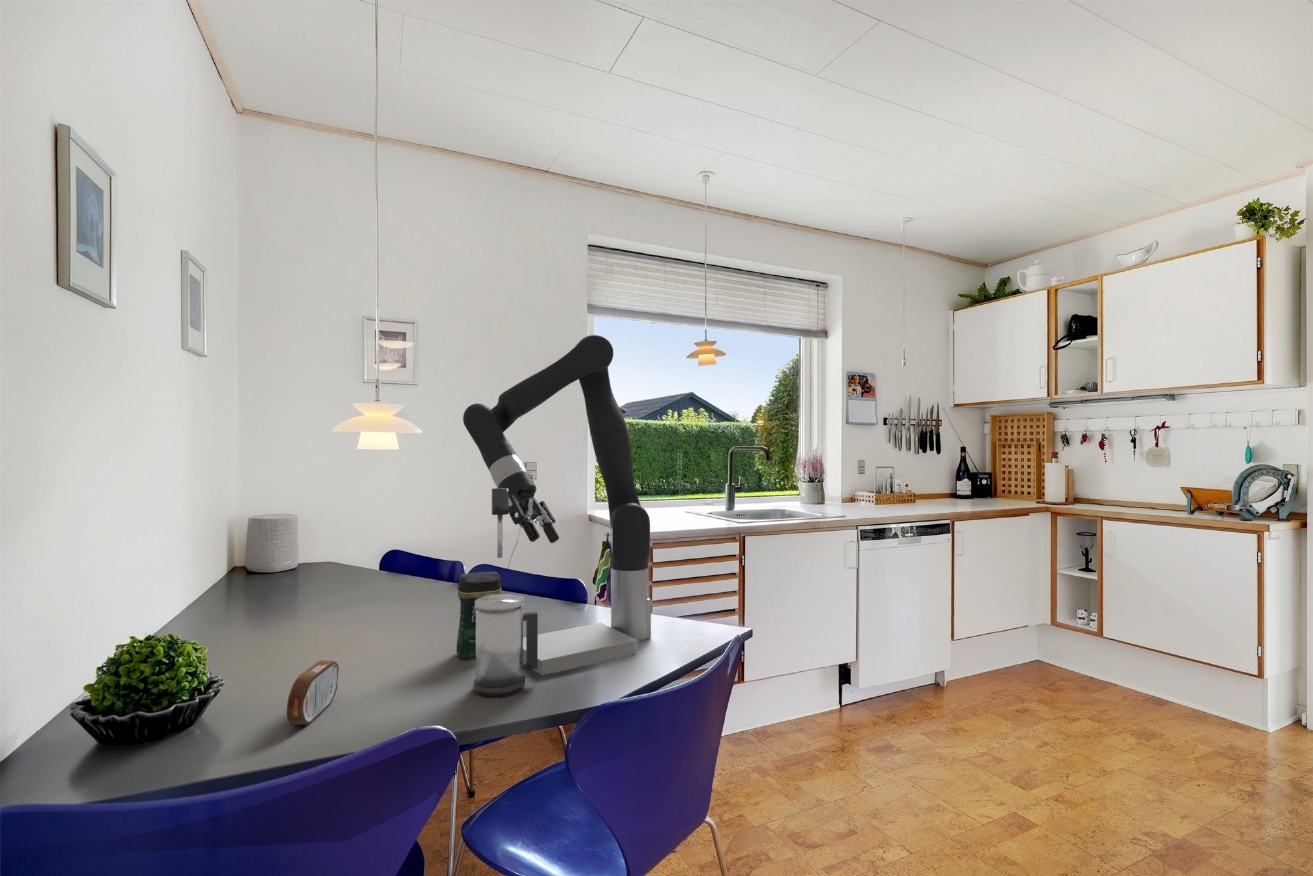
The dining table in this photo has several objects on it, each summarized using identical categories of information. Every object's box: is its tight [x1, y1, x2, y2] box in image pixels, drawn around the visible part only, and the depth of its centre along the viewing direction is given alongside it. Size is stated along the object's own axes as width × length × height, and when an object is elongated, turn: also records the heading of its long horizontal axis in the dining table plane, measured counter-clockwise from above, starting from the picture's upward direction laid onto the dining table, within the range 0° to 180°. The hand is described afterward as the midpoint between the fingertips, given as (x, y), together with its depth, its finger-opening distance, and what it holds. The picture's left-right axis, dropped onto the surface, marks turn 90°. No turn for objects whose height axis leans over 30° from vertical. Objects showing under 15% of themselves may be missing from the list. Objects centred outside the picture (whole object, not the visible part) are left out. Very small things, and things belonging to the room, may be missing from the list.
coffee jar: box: [456, 571, 502, 660], centre depth 144 cm, size 10×8×19 cm
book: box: [523, 622, 639, 676], centre depth 144 cm, size 18×4×24 cm
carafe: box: [473, 593, 539, 699], centre depth 124 cm, size 12×10×17 cm
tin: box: [286, 659, 340, 726], centre depth 112 cm, size 15×3×8 cm, turn 5°
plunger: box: [491, 487, 509, 559], centre depth 124 cm, size 3×3×14 cm
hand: (545, 540), depth 136 cm, fingers open, 8 cm apart
